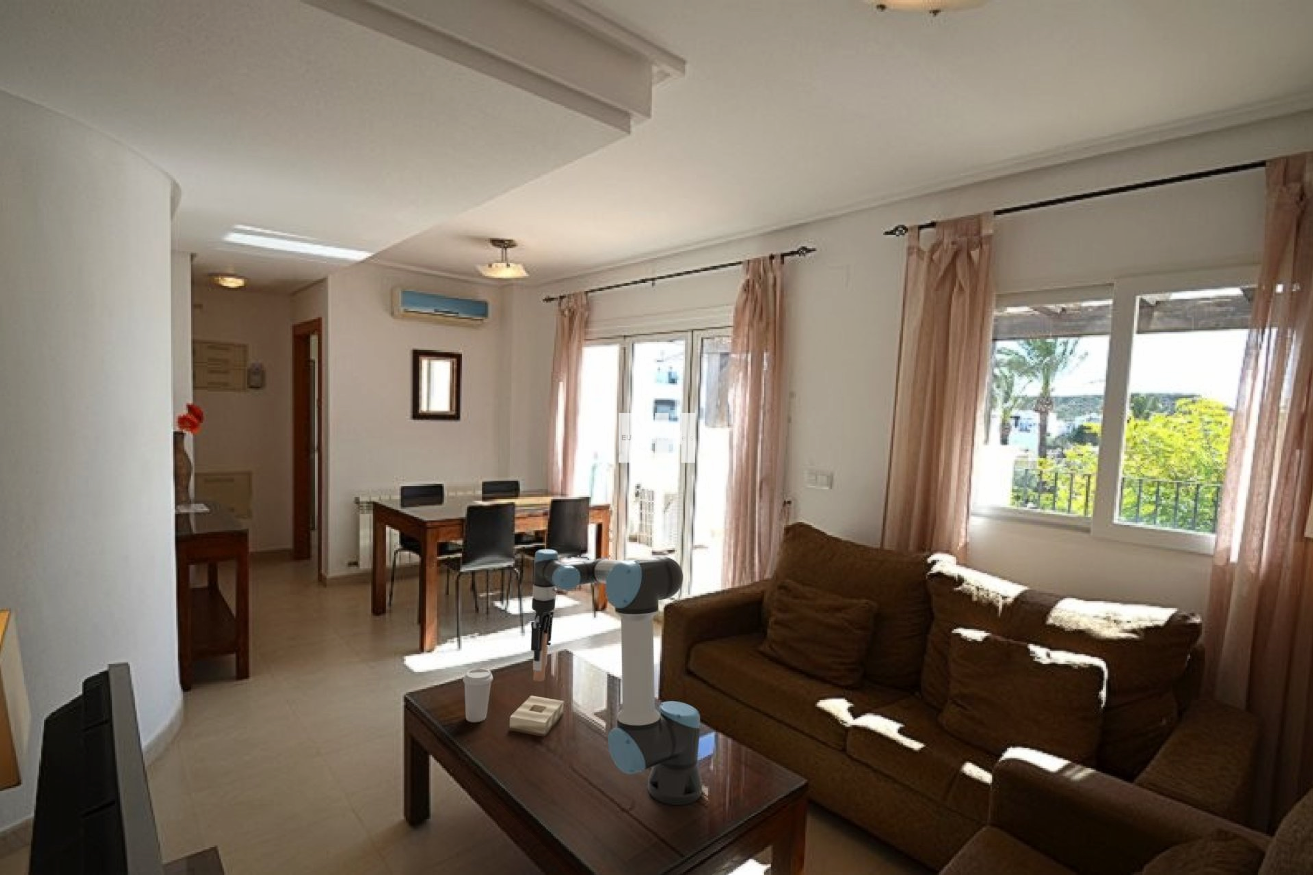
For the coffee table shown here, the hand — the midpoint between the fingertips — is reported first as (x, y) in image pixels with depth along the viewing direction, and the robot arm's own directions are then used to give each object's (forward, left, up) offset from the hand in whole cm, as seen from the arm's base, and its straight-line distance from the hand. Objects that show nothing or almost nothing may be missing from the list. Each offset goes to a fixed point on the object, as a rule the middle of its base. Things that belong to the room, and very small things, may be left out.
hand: (539, 667), depth 207 cm
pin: (0, 0, -4) cm, 4 cm away
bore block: (0, 0, -18) cm, 18 cm away
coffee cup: (-4, +20, -18) cm, 27 cm away
